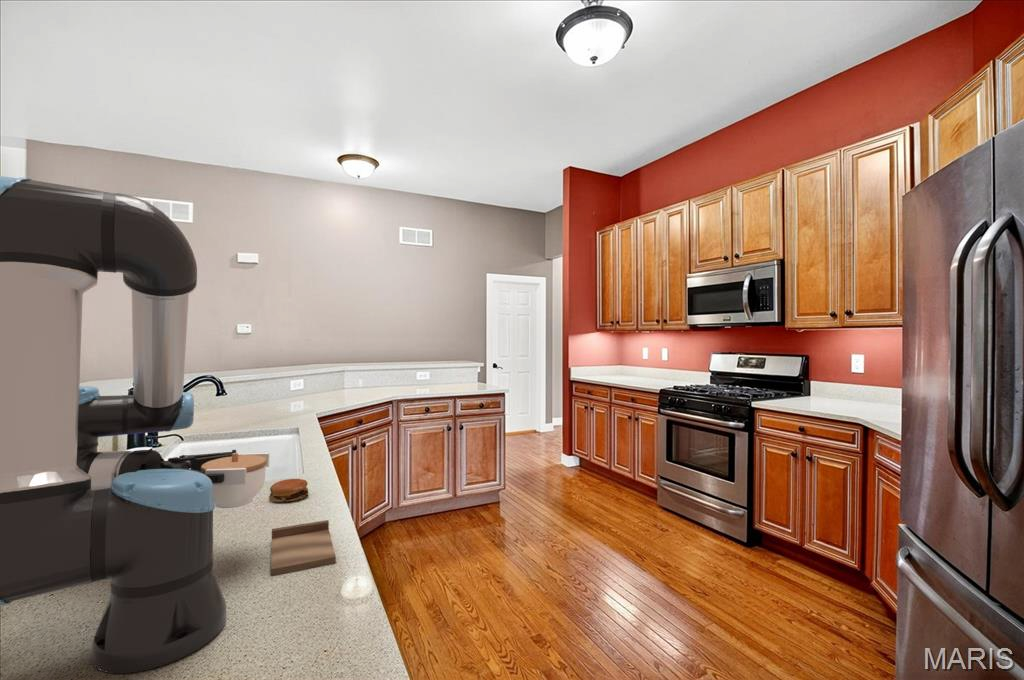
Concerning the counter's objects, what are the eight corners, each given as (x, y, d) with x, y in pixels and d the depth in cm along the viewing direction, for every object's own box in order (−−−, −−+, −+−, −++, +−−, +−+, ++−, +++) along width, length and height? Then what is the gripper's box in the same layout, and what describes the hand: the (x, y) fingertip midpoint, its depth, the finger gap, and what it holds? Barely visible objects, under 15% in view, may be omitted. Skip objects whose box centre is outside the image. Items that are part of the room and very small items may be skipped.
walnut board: (335, 562, 87) (335, 548, 87) (270, 575, 82) (270, 560, 82) (327, 532, 101) (328, 519, 101) (271, 542, 96) (271, 528, 96)
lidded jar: (247, 490, 94) (247, 444, 94) (277, 499, 89) (278, 451, 89) (189, 505, 85) (189, 455, 85) (219, 517, 80) (220, 463, 80)
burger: (263, 498, 122) (264, 480, 122) (299, 490, 129) (299, 473, 129) (277, 507, 116) (278, 489, 116) (314, 498, 122) (314, 481, 122)
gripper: (165, 474, 96) (278, 470, 99) (80, 515, 73) (230, 508, 76) (166, 438, 96) (278, 435, 99) (81, 468, 73) (231, 463, 76)
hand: (257, 467), depth 88 cm, fingers closed on lidded jar, 11 cm apart
